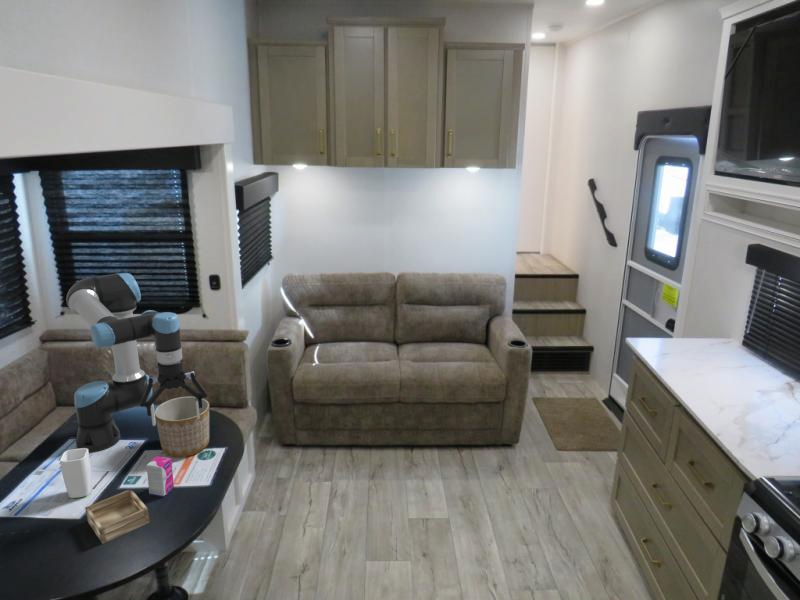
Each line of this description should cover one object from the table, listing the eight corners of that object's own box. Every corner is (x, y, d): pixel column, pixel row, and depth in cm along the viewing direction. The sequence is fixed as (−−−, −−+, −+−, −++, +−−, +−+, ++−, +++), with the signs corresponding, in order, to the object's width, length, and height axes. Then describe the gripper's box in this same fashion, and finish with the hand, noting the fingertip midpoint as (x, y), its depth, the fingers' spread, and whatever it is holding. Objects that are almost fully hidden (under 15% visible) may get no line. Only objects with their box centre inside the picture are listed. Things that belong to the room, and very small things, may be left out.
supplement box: (164, 497, 181) (161, 467, 178) (148, 495, 183) (145, 465, 179) (175, 487, 187) (171, 457, 184) (159, 484, 188) (155, 455, 185)
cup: (95, 485, 187) (89, 447, 182) (90, 498, 180) (84, 459, 176) (71, 488, 185) (64, 450, 180) (65, 502, 178) (58, 462, 174)
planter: (190, 465, 199) (186, 424, 195) (147, 454, 205) (142, 415, 200) (222, 438, 217) (219, 401, 212) (182, 429, 223) (178, 392, 218)
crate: (87, 521, 170) (85, 507, 168) (132, 501, 179) (131, 488, 178) (102, 544, 161) (100, 529, 159) (149, 522, 170) (147, 508, 168)
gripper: (125, 370, 167) (134, 432, 173) (211, 360, 176) (217, 419, 182) (127, 361, 173) (135, 421, 179) (210, 351, 182) (215, 409, 188)
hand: (176, 420), depth 181 cm, fingers open, 13 cm apart
